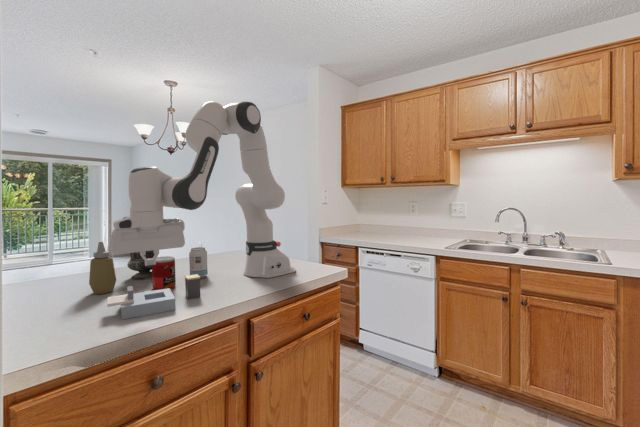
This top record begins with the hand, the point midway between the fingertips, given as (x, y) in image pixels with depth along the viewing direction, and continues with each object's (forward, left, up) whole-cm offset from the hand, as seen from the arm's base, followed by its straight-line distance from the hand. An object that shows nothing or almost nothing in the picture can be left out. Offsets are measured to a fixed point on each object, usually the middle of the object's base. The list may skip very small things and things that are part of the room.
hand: (150, 264), depth 100 cm
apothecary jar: (-1, -41, -14) cm, 43 cm away
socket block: (+1, 0, -13) cm, 13 cm away
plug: (-13, -4, -13) cm, 19 cm away
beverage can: (-20, -28, -14) cm, 37 cm away
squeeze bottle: (+13, -26, -14) cm, 32 cm away
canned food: (-6, -20, -14) cm, 25 cm away
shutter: (+8, 0, -10) cm, 13 cm away
